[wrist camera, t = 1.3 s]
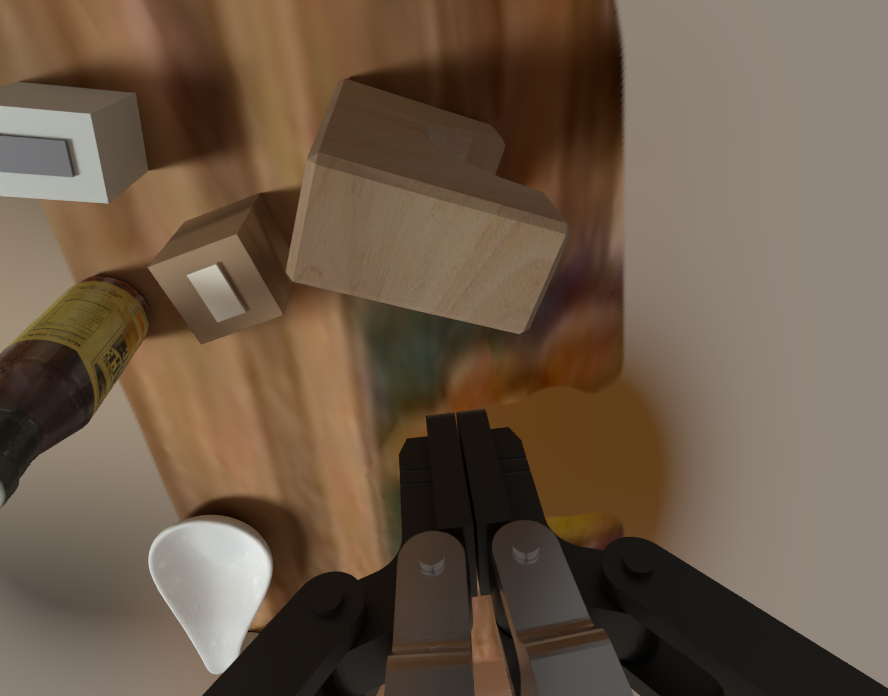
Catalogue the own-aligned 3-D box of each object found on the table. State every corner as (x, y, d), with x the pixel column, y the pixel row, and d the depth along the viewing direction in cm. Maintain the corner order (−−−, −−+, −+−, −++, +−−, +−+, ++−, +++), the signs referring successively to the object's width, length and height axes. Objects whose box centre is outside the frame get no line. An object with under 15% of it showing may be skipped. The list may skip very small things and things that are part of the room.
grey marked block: (18, 81, 36) (-56, 102, 30) (136, 92, 37) (87, 114, 31) (38, 162, 39) (-25, 195, 33) (148, 170, 40) (106, 205, 34)
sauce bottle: (133, 354, 48) (0, 557, 31) (55, 314, 45) (-137, 511, 28) (171, 298, 45) (49, 484, 28) (91, 252, 43) (-96, 427, 26)
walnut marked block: (184, 221, 42) (145, 269, 35) (259, 193, 42) (235, 235, 35) (227, 290, 45) (199, 346, 38) (297, 264, 45) (282, 317, 38)
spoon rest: (147, 498, 56) (119, 561, 50) (270, 492, 57) (257, 552, 51) (196, 638, 69) (179, 701, 63) (297, 631, 70) (289, 692, 64)
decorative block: (497, 126, 40) (579, 229, 24) (469, 202, 43) (525, 343, 26) (340, 72, 38) (308, 145, 21) (322, 157, 41) (280, 282, 24)
